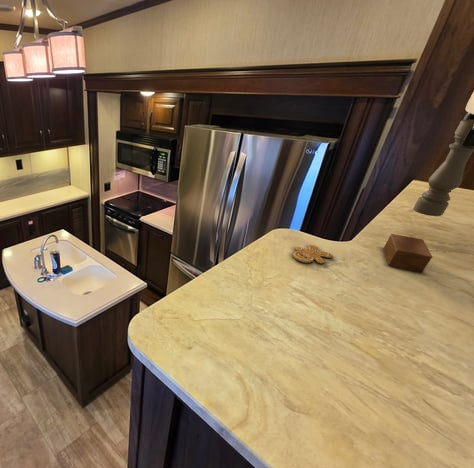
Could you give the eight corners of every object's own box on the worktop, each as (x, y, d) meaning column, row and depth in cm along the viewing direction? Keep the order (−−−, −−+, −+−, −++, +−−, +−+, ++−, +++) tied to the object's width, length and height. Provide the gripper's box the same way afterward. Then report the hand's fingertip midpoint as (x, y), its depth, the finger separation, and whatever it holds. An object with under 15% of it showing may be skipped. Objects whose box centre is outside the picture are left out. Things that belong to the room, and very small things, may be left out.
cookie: (338, 256, 78) (312, 265, 75) (336, 259, 79) (310, 268, 76) (309, 241, 85) (284, 249, 82) (308, 244, 86) (283, 252, 83)
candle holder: (438, 209, 85) (490, 119, 72) (445, 217, 81) (502, 124, 68) (410, 205, 88) (455, 118, 75) (416, 213, 83) (464, 123, 71)
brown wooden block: (413, 254, 79) (423, 239, 76) (422, 272, 73) (432, 256, 70) (383, 248, 82) (391, 233, 80) (388, 265, 76) (397, 249, 73)
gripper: (560, 61, 57) (502, 152, 66) (518, 59, 69) (474, 136, 79) (503, 63, 61) (456, 150, 70) (472, 61, 73) (436, 134, 82)
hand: (466, 142), depth 74 cm, fingers closed on candle holder, 5 cm apart
